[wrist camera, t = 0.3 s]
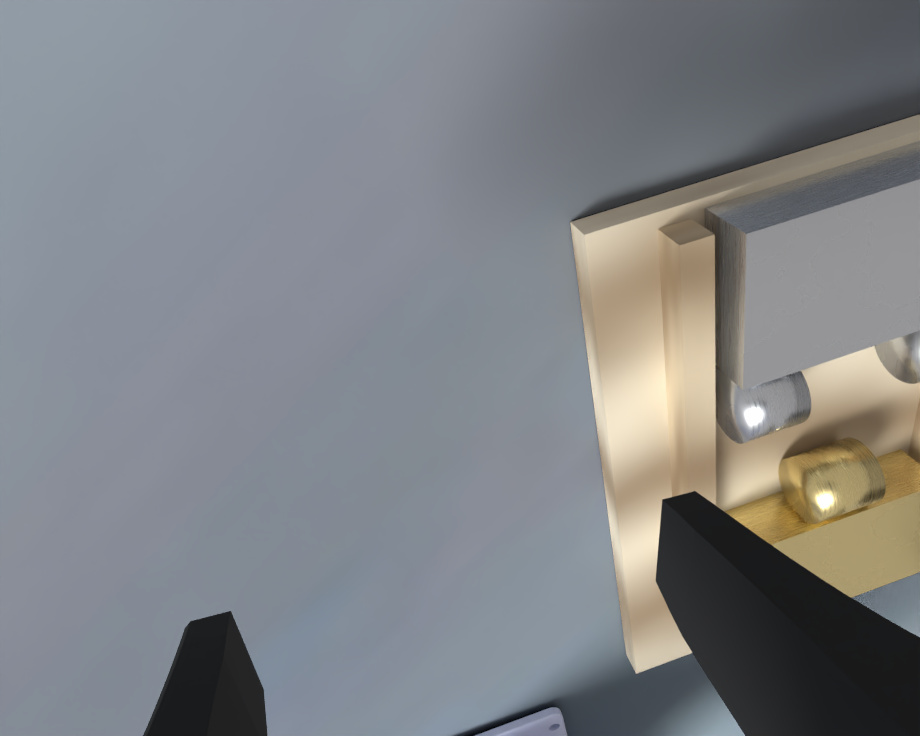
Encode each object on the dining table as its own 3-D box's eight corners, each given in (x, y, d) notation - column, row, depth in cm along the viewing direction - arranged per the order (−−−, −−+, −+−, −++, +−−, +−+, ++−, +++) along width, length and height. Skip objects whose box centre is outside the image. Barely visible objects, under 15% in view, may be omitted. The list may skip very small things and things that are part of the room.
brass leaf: (883, 536, 30) (928, 579, 28) (709, 599, 29) (743, 648, 27) (909, 400, 26) (965, 439, 24) (708, 470, 25) (747, 517, 23)
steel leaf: (921, 341, 24) (980, 378, 22) (707, 414, 24) (748, 459, 22) (963, 127, 20) (1040, 149, 18) (704, 208, 19) (755, 239, 17)
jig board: (926, 543, 33) (965, 579, 31) (626, 654, 32) (648, 698, 30) (1041, 76, 21) (1115, 91, 19) (570, 221, 20) (602, 251, 18)
